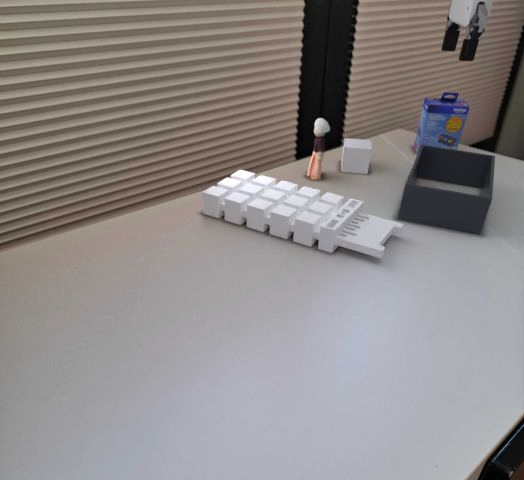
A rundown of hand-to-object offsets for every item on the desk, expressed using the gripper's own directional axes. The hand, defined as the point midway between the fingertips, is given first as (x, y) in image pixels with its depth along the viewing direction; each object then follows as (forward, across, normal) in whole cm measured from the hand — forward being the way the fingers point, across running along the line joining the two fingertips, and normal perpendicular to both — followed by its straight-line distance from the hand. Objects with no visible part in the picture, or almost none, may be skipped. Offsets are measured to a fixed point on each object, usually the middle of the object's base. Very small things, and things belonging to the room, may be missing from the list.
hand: (456, 55), depth 112 cm
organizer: (+22, -36, +40) cm, 58 cm away
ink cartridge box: (+22, 0, -1) cm, 22 cm away
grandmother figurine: (+22, -14, +32) cm, 42 cm away
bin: (+22, -29, +8) cm, 37 cm away
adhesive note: (+22, -10, +22) cm, 33 cm away
